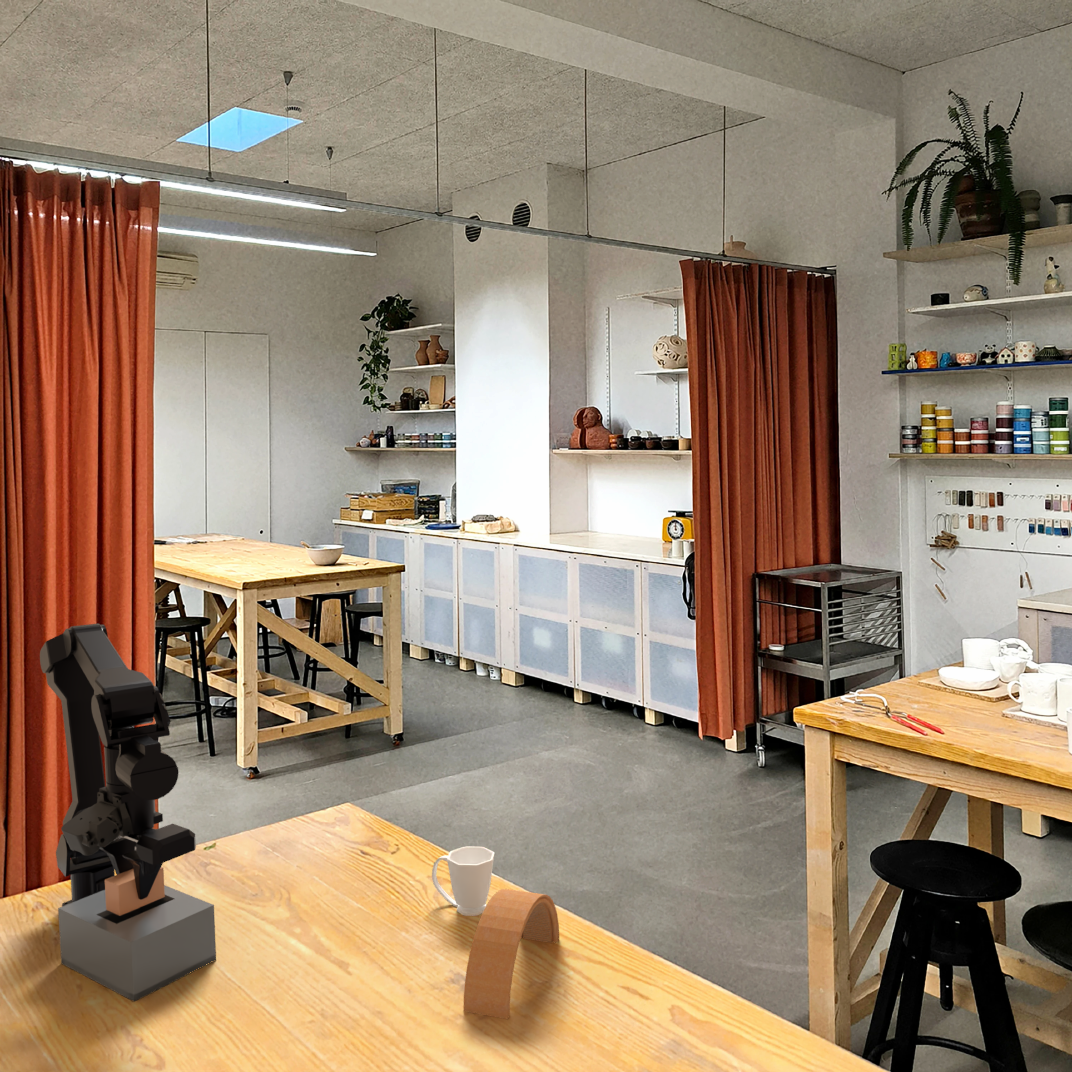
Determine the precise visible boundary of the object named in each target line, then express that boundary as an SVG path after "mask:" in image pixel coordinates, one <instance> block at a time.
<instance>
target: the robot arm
mask: <svg viewBox="0 0 1072 1072" xmlns="http://www.w3.org/2000/svg"><path fill="white" fill-rule="evenodd" d="M108 634H109V633H108V630H107V627H106V626H105V624H100V623H99V622H98V623H90V624H89V623H88V624H80V625H73V626H70V627H69V628H65V630H64V631H63V632H62V633H60V634H59V635H56V636H54V637H51V638H50V639H48V640H46V641H45V642H44V644H43V645H42V647H41V649H40V651H39V663H40V668H41V671H42V673H43V674H45V676H46V677H45V678H46V684H47V686H48V687H49V688H50V689H51V690H52V692H53V693H54V694H55V695H56V696H57V697H58V698H59V700H60V701H61V707H62V718H63V727H64V735H65V744H66V746H65V747H66V753H67V754H66V755H67V762H68V763H67V765H68V772H69V780H70V788H71V798H72V800H71V801H72V802H71V804H70V806H69V808H68V809H67V811H66V813H65V816H64V818H63V820H62V826H61V832H62V834H60V838H59V841H58V843H57V844H58V845H57V847H56V851H55V856H56V857H55V858H56V863H57V864H56V866H57V868H58V869H59V870H60V871H61V873H62V874H63V876H64V877H65V878H66V877H70V887H71V889H70V893H71V899H70V900H68V901H67V900H66V901H64V902H63V903H61V907H62V906H65V905H67V904H70V903H73V902H75V901H78V900H80V899H83V898H85V897H88V896H90V895H93V894H95V893H98V892H100V891H103V890H105V879H108V878H110V877H113V876H115V875H118V874H120V873H123V872H126V871H128V870H131V869H133V870H134V877H135V883H136V889H137V894H138V898H139V899H140V900H142V899H144V898H147V897H148V895H149V892H150V890H151V888H152V886H153V883H154V881H155V879H156V877H157V874H158V872H159V870H160V868H161V867H163V865H164V863H166V862H169V861H171V860H174V859H176V858H179V857H181V856H184V855H187V854H189V853H191V852H194V851H196V849H197V846H196V845H197V843H196V842H197V841H196V833H195V832H194V831H192V830H190V829H189V828H186V827H184V826H180V825H179V824H178V825H177V824H175V823H169V824H168V825H165V826H162V827H159V828H154V827H155V825H156V824H159V823H162V822H164V819H163V813H161V812H158V811H156V800H159V799H161V798H163V797H165V796H166V795H168V794H169V793H170V792H171V791H172V790H173V789H174V788H175V786H176V784H177V782H178V779H179V772H180V771H179V767H178V765H177V762H176V761H175V759H174V758H173V757H172V756H170V755H169V754H168V753H166V752H165V751H163V750H162V745H161V744H162V743H161V742H160V741H158V740H159V738H163V737H168V736H170V734H171V732H170V728H169V727H170V724H171V718H170V715H169V712H168V709H167V706H166V703H165V700H164V698H163V695H162V694H161V693H160V690H159V687H158V686H156V685H154V683H153V682H152V681H151V679H150V678H148V677H147V675H146V674H145V673H144V672H141V671H137V670H133V669H129V668H128V666H127V665H126V663H125V662H124V660H123V658H122V657H121V656H120V654H119V652H118V651H117V649H116V648H115V647H114V646H115V645H113V644H112V642H111V640H110V639H109V636H108ZM153 722H155V723H153ZM152 723H153V724H152ZM101 743H102V745H103V749H104V763H103V754H102V747H101ZM104 769H105V773H104Z"/></svg>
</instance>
